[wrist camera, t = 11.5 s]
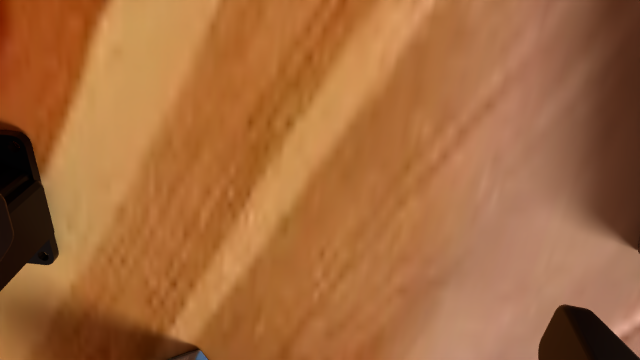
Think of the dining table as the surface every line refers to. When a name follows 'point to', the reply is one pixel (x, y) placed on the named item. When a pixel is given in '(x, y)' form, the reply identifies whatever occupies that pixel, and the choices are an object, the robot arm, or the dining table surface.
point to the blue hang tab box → (191, 356)
